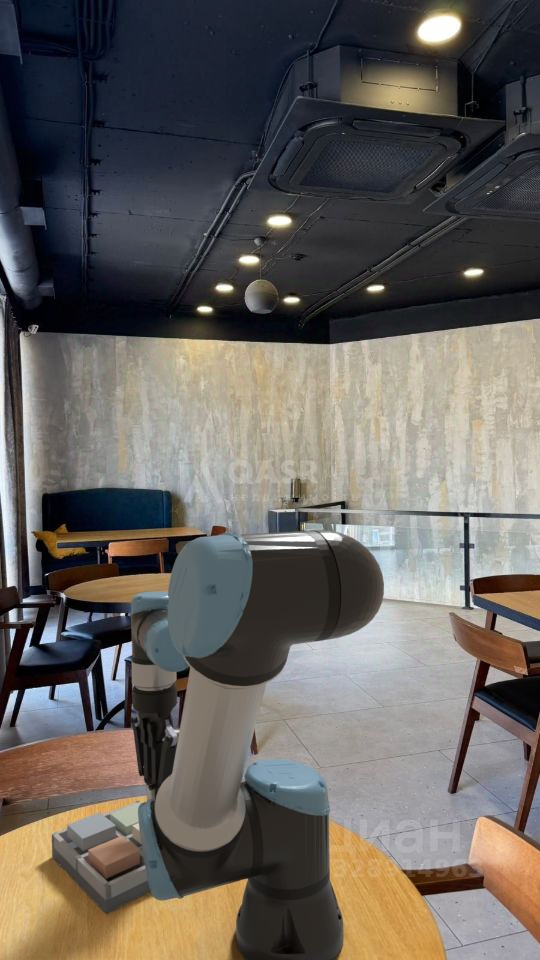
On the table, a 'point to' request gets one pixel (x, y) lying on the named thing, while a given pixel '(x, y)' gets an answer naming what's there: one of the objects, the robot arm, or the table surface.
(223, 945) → the table surface
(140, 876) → the keypad base
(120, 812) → the key sage
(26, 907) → the table surface
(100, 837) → the key slate
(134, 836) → the key cream
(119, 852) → the key terracotta
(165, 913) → the table surface
